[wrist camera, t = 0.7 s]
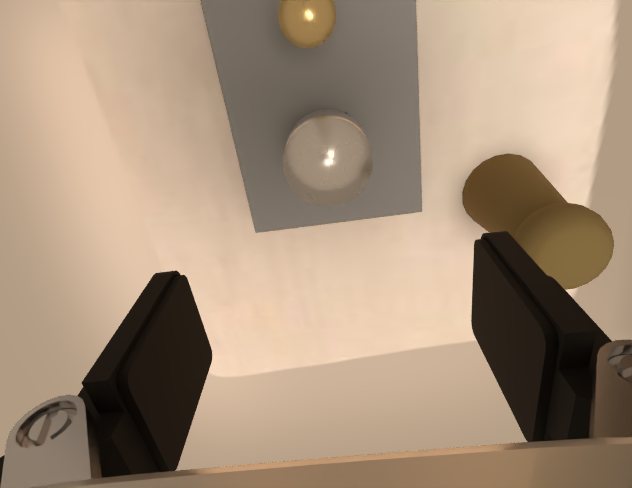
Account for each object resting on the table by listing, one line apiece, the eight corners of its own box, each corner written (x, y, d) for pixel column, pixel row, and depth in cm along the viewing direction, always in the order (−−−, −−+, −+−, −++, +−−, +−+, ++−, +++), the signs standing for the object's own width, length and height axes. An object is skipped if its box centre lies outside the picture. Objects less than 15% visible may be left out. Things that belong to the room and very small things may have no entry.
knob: (284, 104, 27) (274, 125, 21) (358, 93, 26) (368, 111, 21) (296, 175, 29) (290, 211, 23) (365, 166, 29) (376, 200, 23)
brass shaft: (283, -5, 23) (272, -14, 18) (330, -13, 23) (332, -24, 18) (291, 46, 24) (283, 52, 19) (335, 39, 24) (339, 43, 19)
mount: (161, -241, 22) (131, -293, 18) (391, -292, 21) (405, -357, 17) (262, 211, 34) (255, 232, 30) (411, 191, 33) (422, 211, 29)
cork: (457, 226, 34) (511, 306, 24) (468, 154, 31) (534, 212, 22) (531, 225, 34) (615, 305, 24) (548, 153, 31) (651, 210, 22)
